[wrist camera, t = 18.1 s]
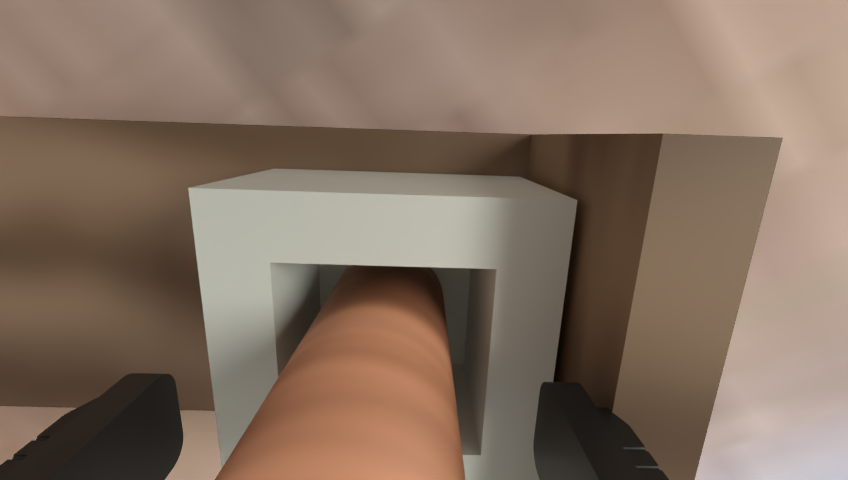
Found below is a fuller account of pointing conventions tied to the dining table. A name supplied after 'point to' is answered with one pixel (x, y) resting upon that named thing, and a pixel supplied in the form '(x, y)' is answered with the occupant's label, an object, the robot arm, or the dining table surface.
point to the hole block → (389, 246)
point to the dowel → (362, 389)
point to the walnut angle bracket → (375, 152)
